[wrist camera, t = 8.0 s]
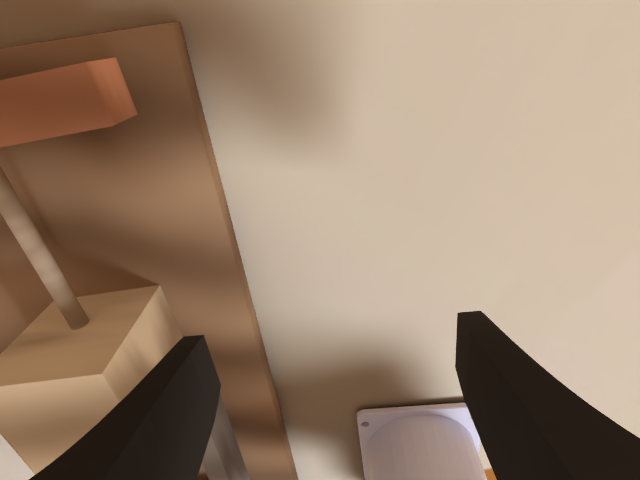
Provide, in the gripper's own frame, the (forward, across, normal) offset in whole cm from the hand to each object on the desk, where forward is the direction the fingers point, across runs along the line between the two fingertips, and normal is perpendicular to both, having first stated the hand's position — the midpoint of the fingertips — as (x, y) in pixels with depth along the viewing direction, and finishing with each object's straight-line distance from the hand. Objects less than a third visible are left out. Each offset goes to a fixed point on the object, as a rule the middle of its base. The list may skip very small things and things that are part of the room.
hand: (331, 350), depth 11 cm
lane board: (+9, +13, +7) cm, 18 cm away
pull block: (+8, +12, 0) cm, 15 cm away
